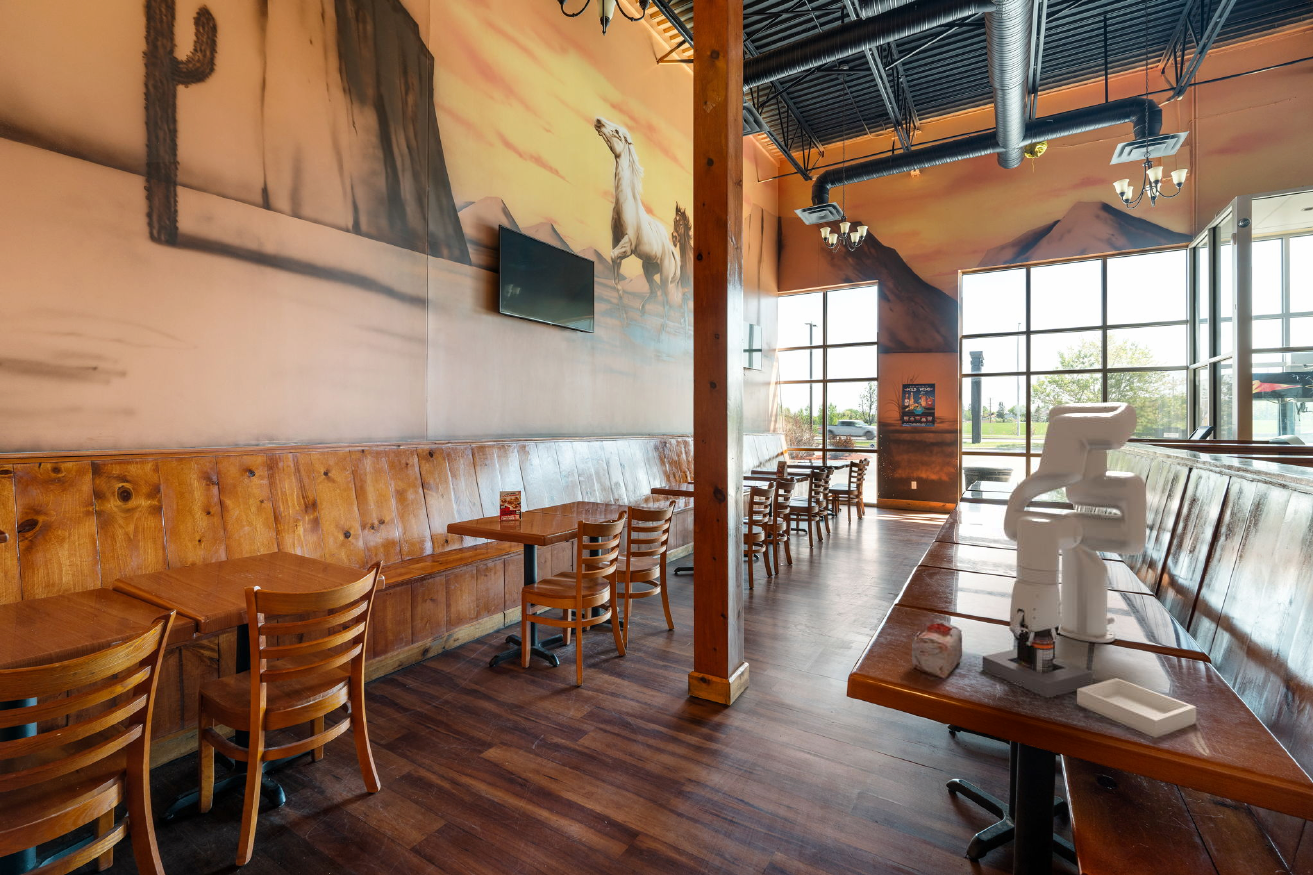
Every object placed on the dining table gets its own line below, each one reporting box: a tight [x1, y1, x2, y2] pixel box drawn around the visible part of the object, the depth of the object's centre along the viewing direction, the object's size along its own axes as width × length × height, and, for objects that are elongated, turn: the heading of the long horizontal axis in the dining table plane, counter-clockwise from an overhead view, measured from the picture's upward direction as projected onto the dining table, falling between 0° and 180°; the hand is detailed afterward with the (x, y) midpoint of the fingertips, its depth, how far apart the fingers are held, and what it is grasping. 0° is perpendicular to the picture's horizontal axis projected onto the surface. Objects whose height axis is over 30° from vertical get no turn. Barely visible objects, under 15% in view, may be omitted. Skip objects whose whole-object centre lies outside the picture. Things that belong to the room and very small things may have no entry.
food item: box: [911, 620, 963, 679], centre depth 125 cm, size 14×8×10 cm, turn 139°
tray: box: [1076, 677, 1197, 739], centre depth 105 cm, size 13×13×3 cm
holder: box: [982, 648, 1093, 699], centre depth 120 cm, size 14×14×3 cm
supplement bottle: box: [1019, 625, 1054, 674], centre depth 120 cm, size 6×6×11 cm
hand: (1035, 658), depth 120 cm, fingers closed on supplement bottle, 6 cm apart
